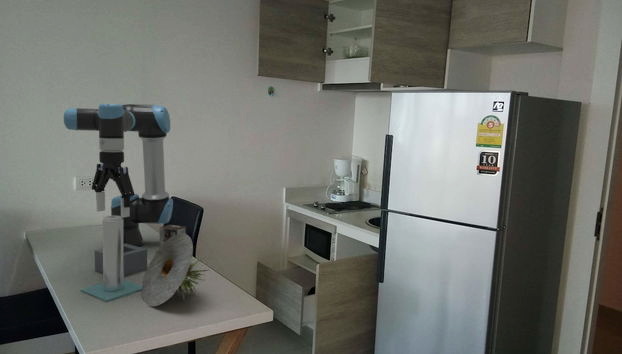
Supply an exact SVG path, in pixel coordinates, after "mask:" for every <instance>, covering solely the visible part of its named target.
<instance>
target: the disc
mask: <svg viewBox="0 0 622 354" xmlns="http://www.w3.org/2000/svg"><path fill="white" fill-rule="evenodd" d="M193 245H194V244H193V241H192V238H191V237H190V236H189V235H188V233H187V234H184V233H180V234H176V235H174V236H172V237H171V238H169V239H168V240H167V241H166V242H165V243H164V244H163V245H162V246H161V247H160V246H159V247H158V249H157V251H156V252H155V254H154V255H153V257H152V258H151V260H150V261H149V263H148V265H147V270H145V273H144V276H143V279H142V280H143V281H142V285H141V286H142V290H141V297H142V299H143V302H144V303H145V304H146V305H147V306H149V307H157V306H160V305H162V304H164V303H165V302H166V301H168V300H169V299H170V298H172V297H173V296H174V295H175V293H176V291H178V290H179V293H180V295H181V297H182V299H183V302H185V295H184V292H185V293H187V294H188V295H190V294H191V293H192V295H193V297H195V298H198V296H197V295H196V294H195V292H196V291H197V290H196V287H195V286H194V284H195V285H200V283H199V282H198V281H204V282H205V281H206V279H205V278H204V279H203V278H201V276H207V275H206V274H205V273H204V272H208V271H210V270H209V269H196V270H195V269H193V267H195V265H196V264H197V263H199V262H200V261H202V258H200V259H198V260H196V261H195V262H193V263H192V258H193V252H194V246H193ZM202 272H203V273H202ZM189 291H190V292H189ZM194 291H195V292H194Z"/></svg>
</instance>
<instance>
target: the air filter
mask: <svg viewBox="0 0 622 354" xmlns="http://www.w3.org/2000/svg"><path fill="white" fill-rule="evenodd" d="M102 249H103V275H102V276H103V277H102V280H103V281H102V283H103V290H105V291H109V292H113V291H119V290H121V289H123V288H124V280H125V279H124V277H125V276H124V260H123V219H122V218H121V216H111V215H107V216H103V219H102Z"/></svg>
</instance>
